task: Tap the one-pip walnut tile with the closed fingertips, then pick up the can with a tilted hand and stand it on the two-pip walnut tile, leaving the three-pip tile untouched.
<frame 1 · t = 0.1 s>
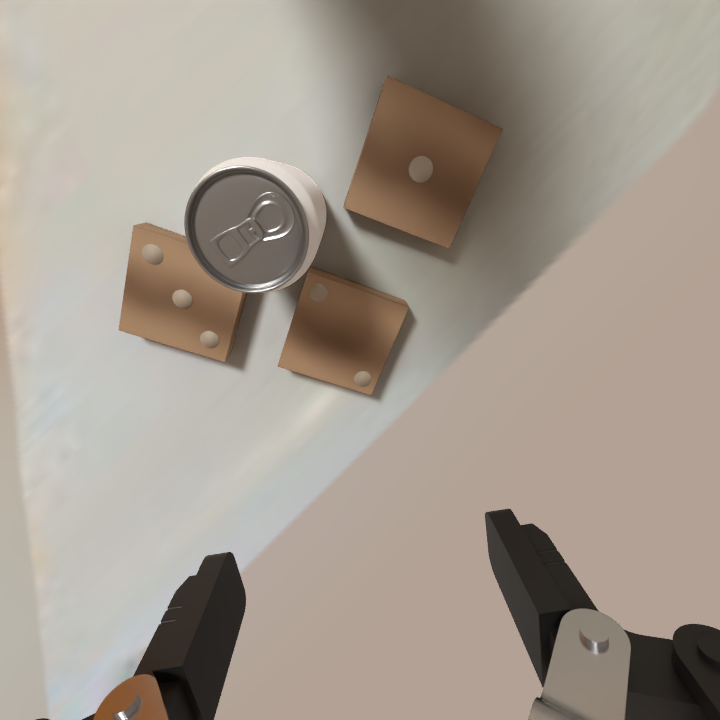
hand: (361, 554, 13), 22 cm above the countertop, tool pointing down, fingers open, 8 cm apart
can: (282, 212, 30), on the countertop
tile 1: (415, 170, 29), on the countertop
tile 3: (191, 291, 31), on the countertop
tile 2: (341, 329, 33), on the countertop
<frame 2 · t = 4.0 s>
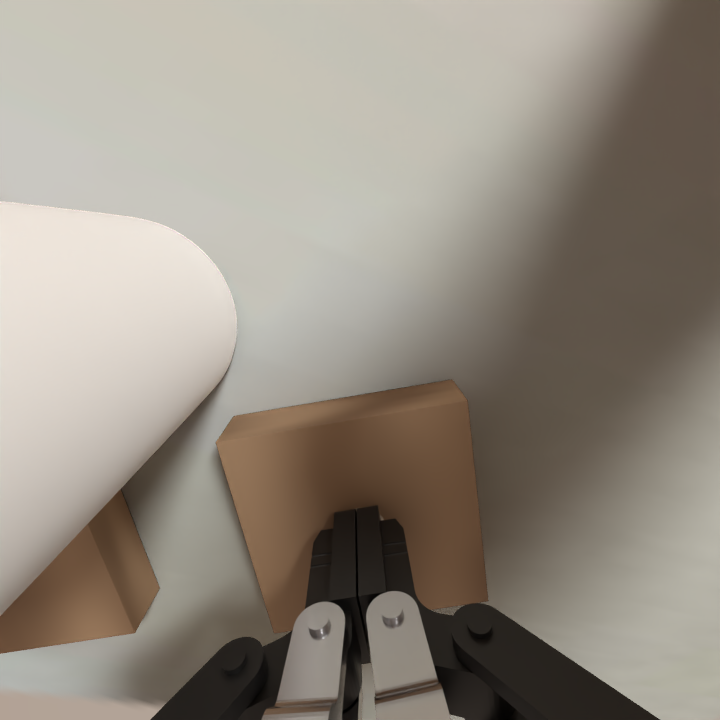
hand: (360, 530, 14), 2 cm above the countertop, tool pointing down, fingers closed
can: (148, 317, 14), on the countertop
tile 1: (360, 492, 16), on the countertop
tile 2: (28, 523, 16), on the countertop
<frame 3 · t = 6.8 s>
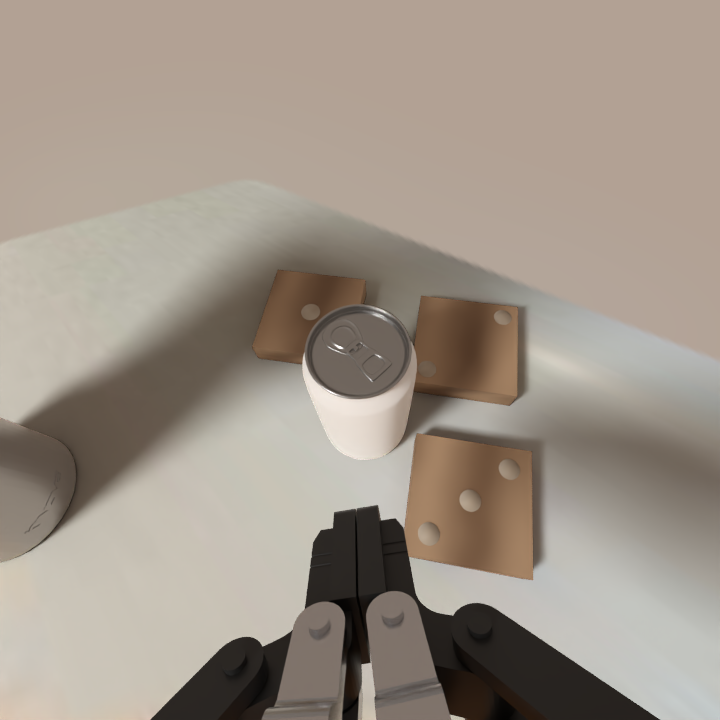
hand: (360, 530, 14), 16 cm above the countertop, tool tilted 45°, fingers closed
can: (365, 421, 32), on the countertop
tile 1: (314, 324, 36), on the countertop
tile 3: (464, 504, 29), on the countertop
tile 2: (461, 354, 34), on the countertop
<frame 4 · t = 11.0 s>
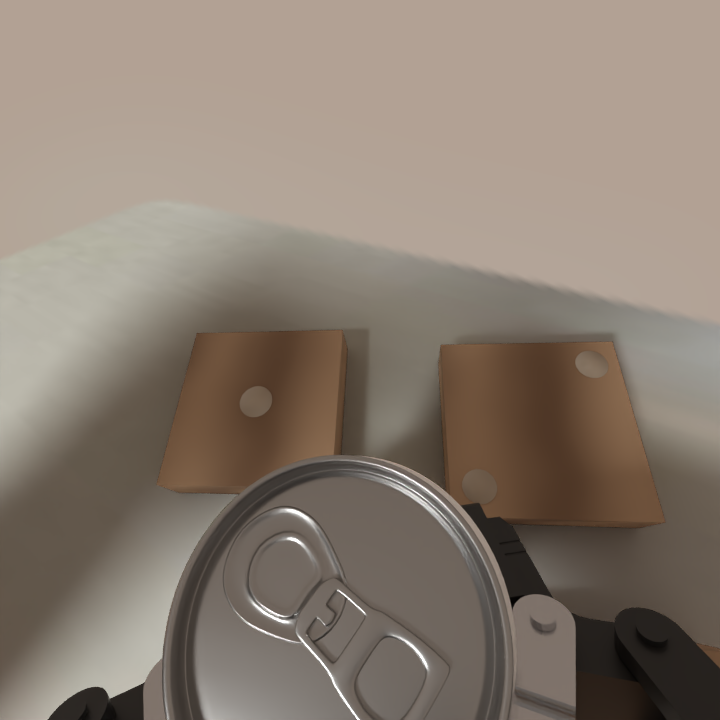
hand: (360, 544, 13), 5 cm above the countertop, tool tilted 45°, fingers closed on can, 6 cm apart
can: (379, 595, 17), on the countertop, touching gripper
tile 1: (268, 415, 21), on the countertop
tile 2: (526, 435, 19), on the countertop
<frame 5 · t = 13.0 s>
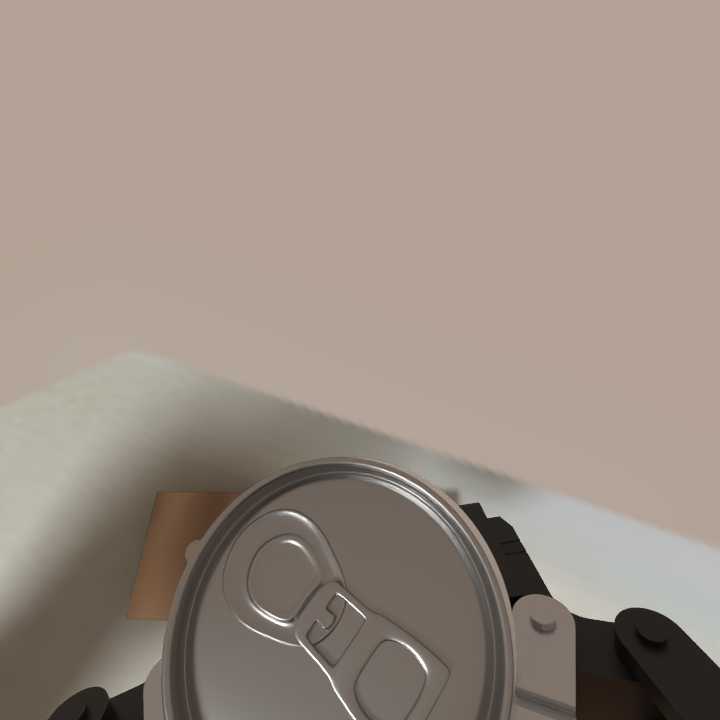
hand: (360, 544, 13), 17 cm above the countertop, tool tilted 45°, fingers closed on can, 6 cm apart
can: (379, 596, 17), point 12 cm above the countertop, touching gripper
tile 1: (209, 553, 30), on the countertop
when the fingers open (9 cm above the countertop, at t = 15.2 s): can drops 1 cm, resting on tile 2.
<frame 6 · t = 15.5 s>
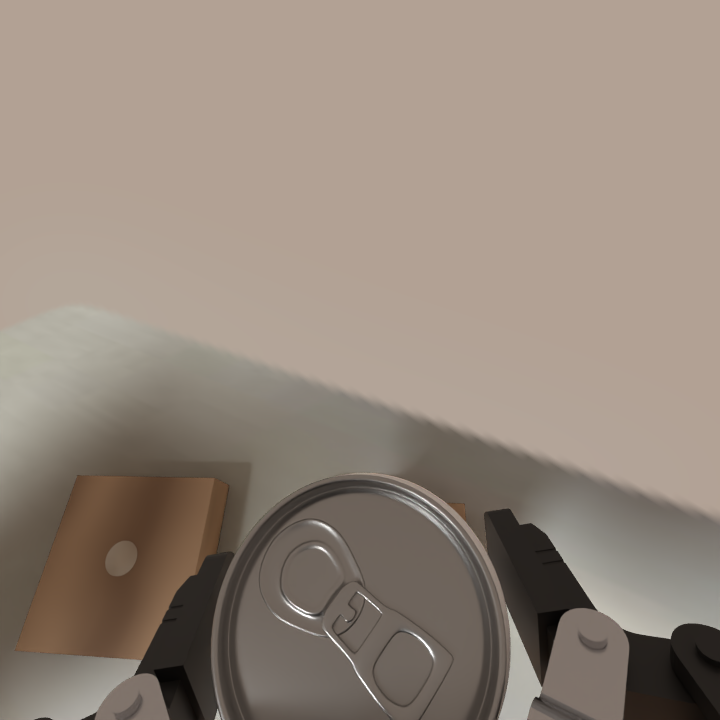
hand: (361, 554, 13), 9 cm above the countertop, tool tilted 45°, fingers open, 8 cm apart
can: (386, 597, 18), point 2 cm above the countertop, touching tile 2
tile 1: (144, 559, 22), on the countertop
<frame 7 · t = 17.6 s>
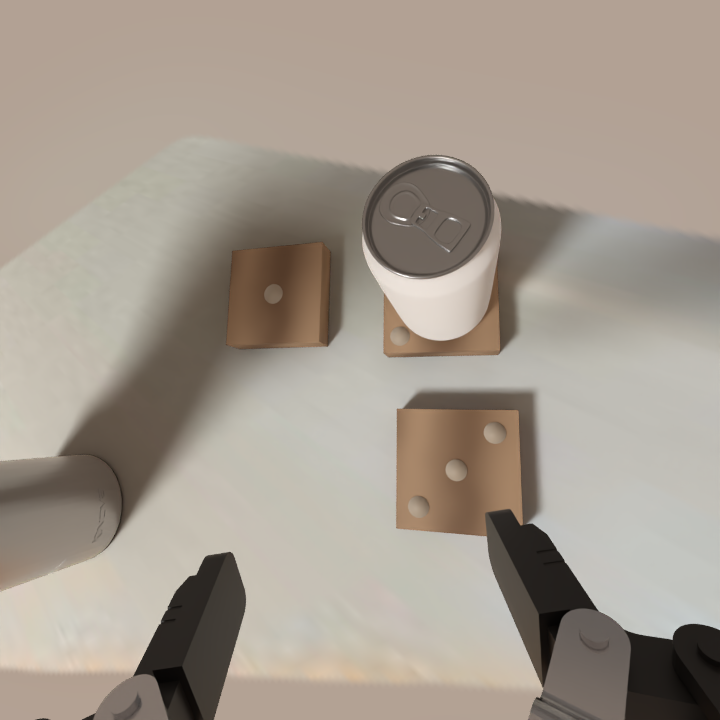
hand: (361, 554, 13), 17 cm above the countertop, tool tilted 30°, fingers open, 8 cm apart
can: (442, 298, 29), point 2 cm above the countertop, touching tile 2
tile 1: (284, 301, 34), on the countertop
tile 3: (457, 466, 29), on the countertop
tile 2: (440, 304, 31), on the countertop
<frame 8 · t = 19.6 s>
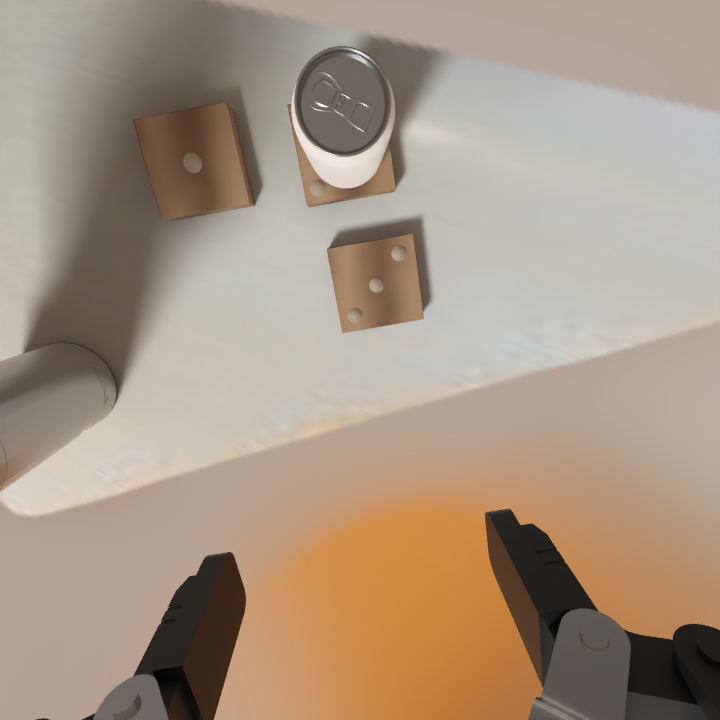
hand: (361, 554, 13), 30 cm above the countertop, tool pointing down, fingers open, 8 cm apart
can: (345, 149, 35), point 2 cm above the countertop, touching tile 2
tile 1: (201, 167, 37), on the countertop
tile 3: (375, 282, 40), on the countertop
tile 2: (343, 152, 37), on the countertop
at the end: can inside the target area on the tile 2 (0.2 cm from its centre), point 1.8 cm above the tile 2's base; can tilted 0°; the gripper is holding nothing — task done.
